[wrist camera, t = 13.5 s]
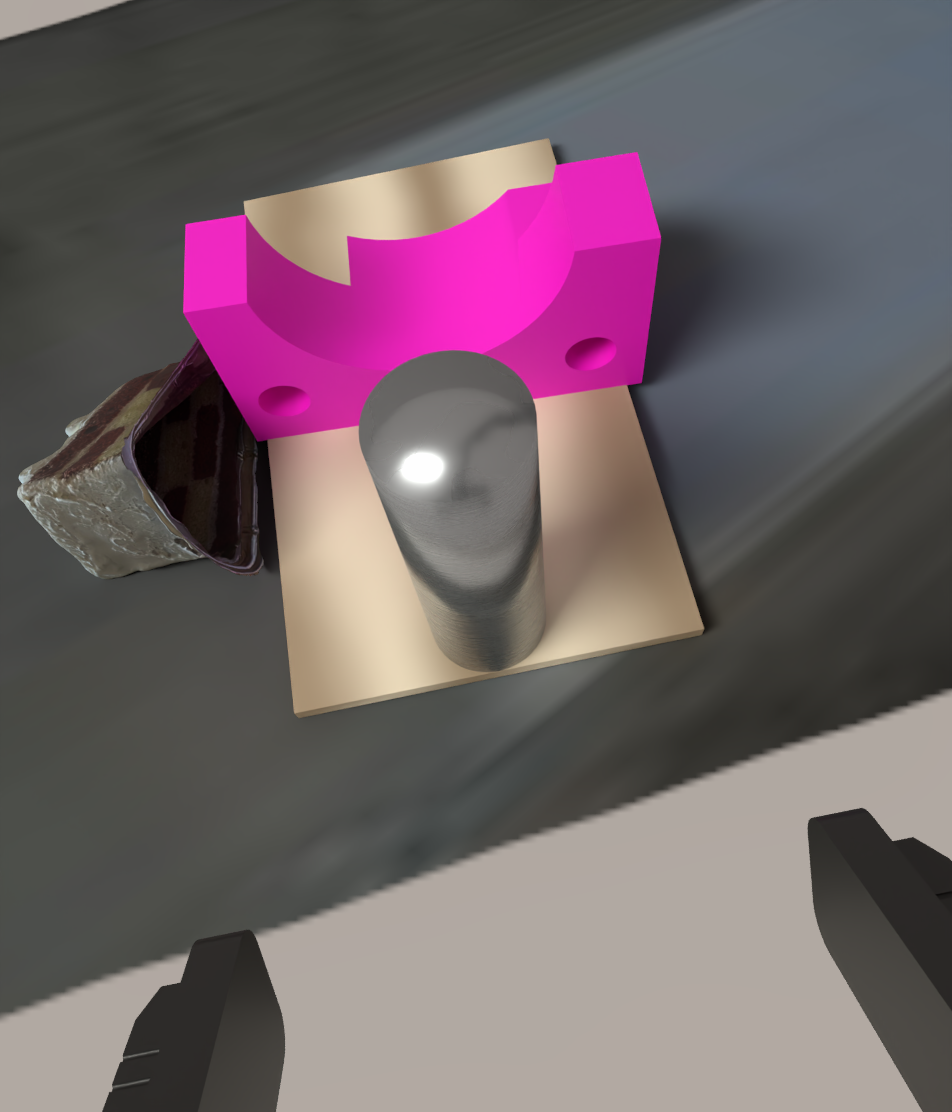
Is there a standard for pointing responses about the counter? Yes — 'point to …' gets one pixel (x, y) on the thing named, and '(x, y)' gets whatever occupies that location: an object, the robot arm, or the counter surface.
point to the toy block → (434, 300)
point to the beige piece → (458, 487)
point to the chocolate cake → (154, 477)
